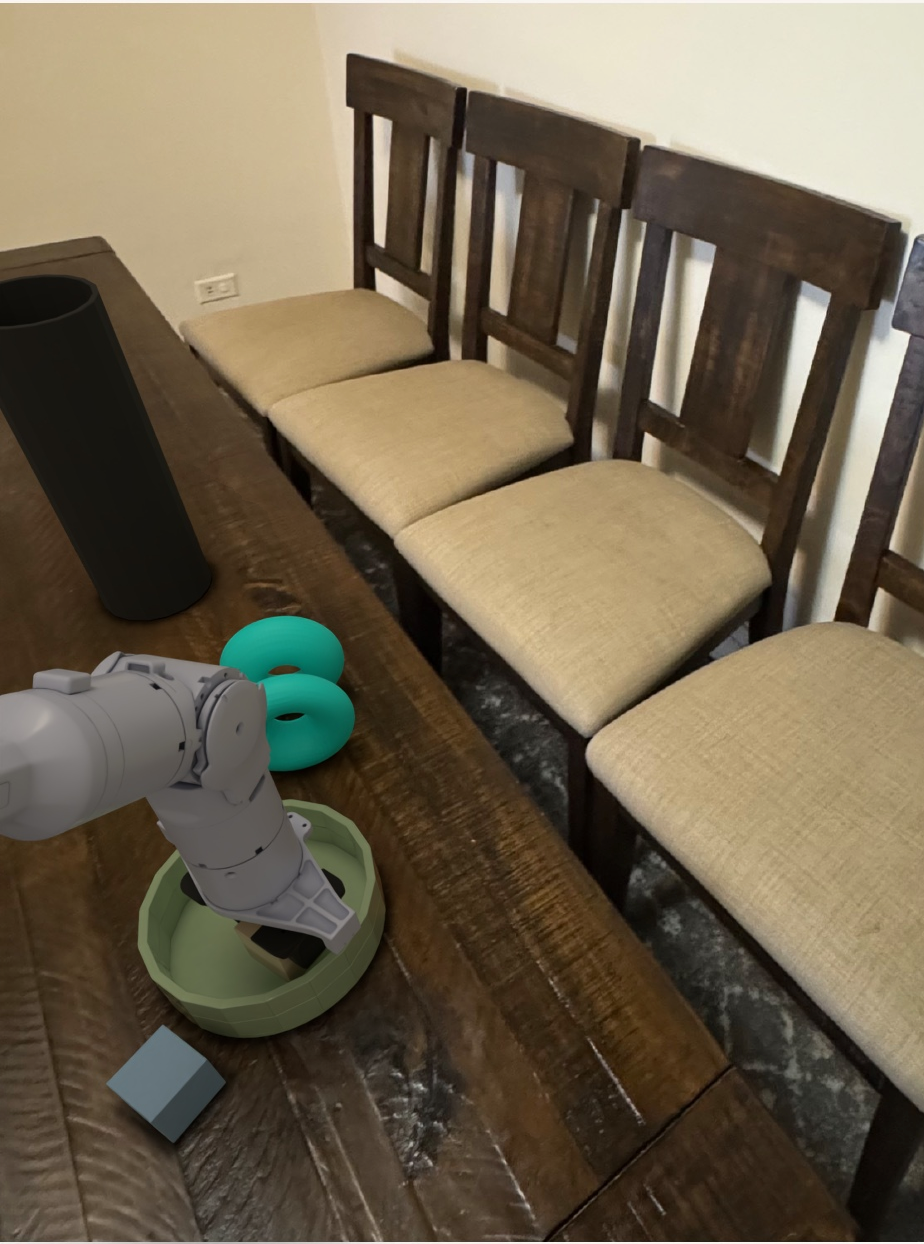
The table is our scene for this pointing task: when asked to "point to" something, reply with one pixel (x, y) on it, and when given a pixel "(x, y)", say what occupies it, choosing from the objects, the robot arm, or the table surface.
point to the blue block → (167, 1083)
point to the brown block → (276, 965)
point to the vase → (95, 447)
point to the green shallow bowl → (219, 962)
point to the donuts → (296, 687)
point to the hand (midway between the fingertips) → (289, 937)
